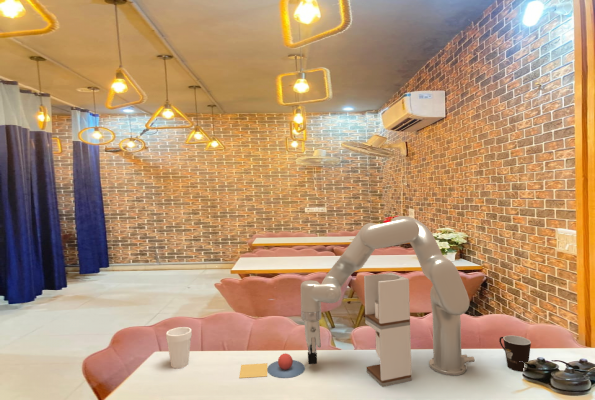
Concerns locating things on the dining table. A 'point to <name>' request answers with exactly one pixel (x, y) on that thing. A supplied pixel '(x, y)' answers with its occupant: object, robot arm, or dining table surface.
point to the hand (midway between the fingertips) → (312, 362)
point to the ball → (285, 361)
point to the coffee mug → (516, 351)
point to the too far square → (253, 370)
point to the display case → (389, 326)
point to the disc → (293, 371)
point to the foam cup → (179, 346)
